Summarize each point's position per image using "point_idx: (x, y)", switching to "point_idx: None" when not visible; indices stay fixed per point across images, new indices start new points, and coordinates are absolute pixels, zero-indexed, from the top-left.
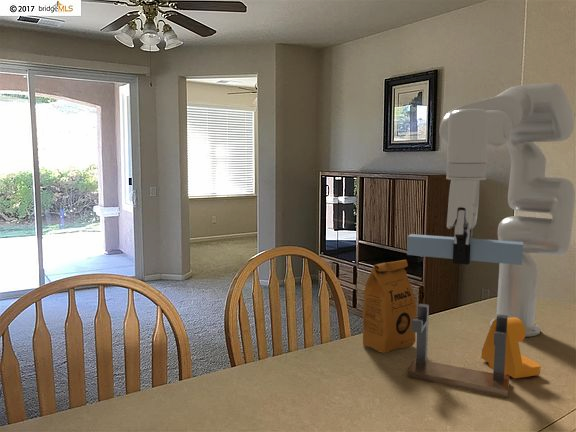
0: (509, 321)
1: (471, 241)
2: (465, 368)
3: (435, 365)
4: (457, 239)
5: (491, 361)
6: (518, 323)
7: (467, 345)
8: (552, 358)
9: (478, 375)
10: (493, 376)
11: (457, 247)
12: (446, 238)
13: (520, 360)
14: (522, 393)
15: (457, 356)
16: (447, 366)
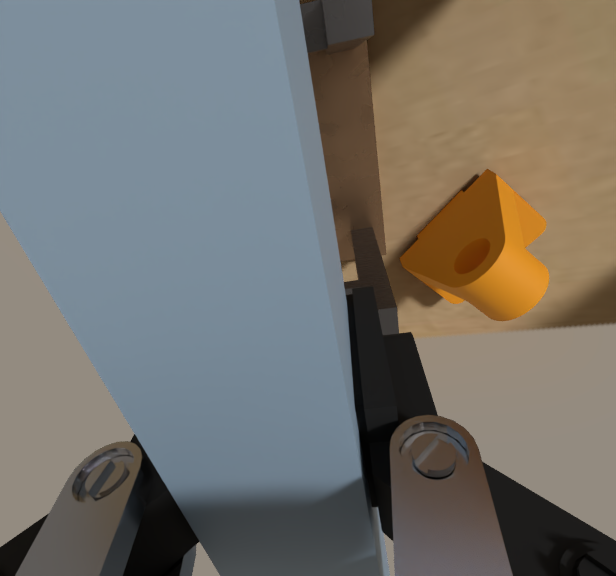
0: (488, 295)
1: (220, 571)
2: (375, 160)
3: (349, 81)
4: (11, 550)
5: (458, 202)
6: (496, 312)
7: (597, 96)
8: (571, 297)
9: (352, 198)
10: (351, 233)
11: (135, 440)
12: (163, 383)
13: (425, 281)
14: (351, 276)
15: (490, 98)
16: (361, 115)
